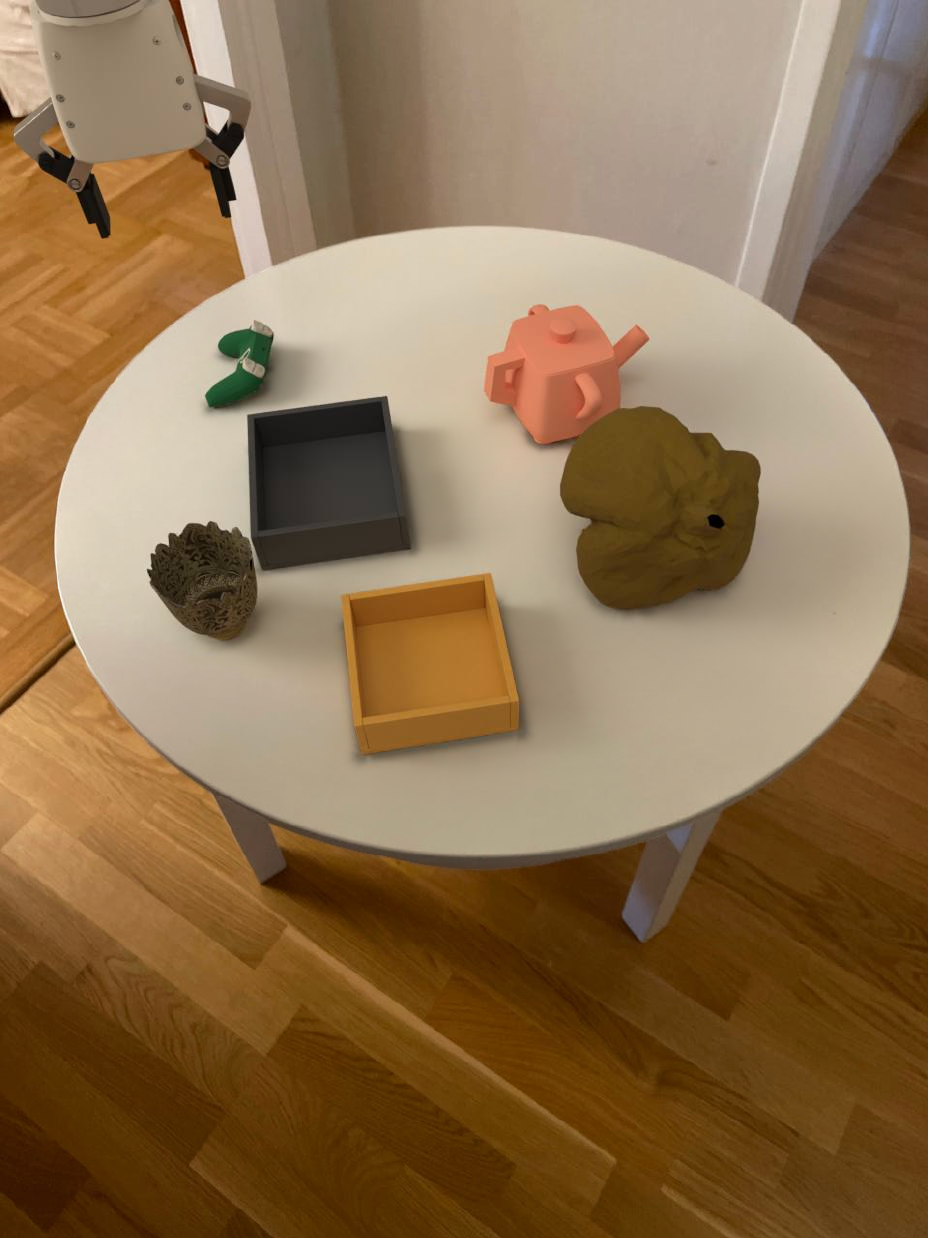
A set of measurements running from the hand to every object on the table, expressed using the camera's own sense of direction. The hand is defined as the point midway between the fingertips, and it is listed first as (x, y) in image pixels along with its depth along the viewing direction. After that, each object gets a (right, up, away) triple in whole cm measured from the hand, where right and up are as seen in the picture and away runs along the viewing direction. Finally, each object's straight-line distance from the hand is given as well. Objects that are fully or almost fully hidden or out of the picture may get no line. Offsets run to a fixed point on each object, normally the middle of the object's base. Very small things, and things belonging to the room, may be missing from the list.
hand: (166, 218), depth 75 cm
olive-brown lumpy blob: (+39, -29, -1) cm, 49 cm away
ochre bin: (+22, -37, -6) cm, 43 cm away
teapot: (+33, -14, +10) cm, 37 cm away
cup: (+6, -33, -3) cm, 33 cm away
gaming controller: (+3, -9, +14) cm, 17 cm away
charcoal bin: (+13, -22, +5) cm, 26 cm away
